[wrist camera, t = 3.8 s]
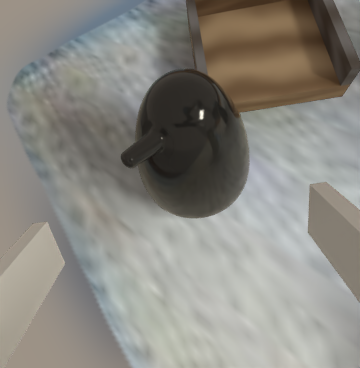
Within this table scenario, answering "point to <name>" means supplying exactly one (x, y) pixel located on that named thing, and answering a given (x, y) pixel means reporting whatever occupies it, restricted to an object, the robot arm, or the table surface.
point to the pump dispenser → (190, 145)
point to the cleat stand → (272, 50)
